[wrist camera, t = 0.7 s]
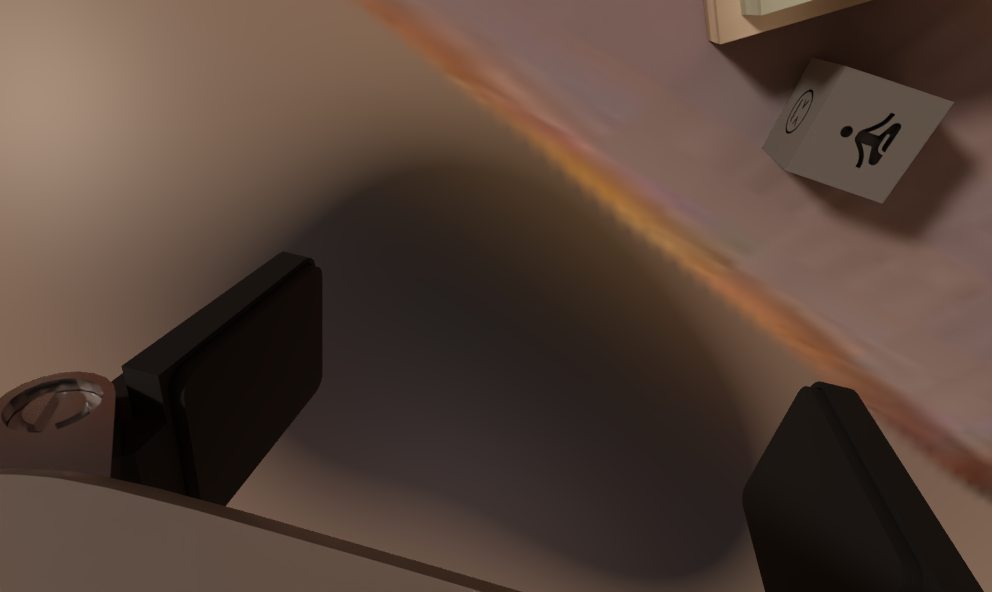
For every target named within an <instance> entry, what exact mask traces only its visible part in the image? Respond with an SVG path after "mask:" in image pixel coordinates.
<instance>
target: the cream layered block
mask: <svg viewBox="0 0 992 592" xmlns="http://www.w3.org/2000/svg"><path fill="white" fill-rule="evenodd" d="M703 1H704V10H705V19H706V28H707V36H708V40H709V41H712V42H715V43H718V44H723V43H727V42H730V41H734V40H737V39H741V38H744V37H748V36H751V35H755V34H758V33H761V32H765V31H768V30H772V29H775V28H779V27H782V26H786V25H789V24H793V23H796V22H799V21H803V20H806V19H810V18H813V17H817V16H820V15H824V14H827V13H831V12H834V11H837V10H841V9H844V8H848V7H851V6H855V5H858V4H862V3H865V2H869V1H872V0H703Z"/></svg>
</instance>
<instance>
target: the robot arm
mask: <svg viewBox="0 0 992 592" xmlns="http://www.w3.org/2000/svg"><path fill="white" fill-rule="evenodd" d="M122 370H123V374H121V375H120V376H118V377H117V378H116V379H114V380H113V381H112V382H110V381H109V380H108V379H107V378H106V377H103V376H101V375H98V374H95V373H88V372H64V373H57V374H52V375H48V376H43V377H40V378H37V379H34V380H32V381H29V382H26V383H24V384H21V385H20V386H18V387H16V388H14V389H12V390H11V391H9V392H7V393H6V394H4V395H3V396H2V397H1V398H0V592H522V591H518V590H514V589H512V588H508V587H505V586H501V585H497V584H494V583H491V582H487V581H484V580H481V579H477V578H474V577H470V576H467V575H464V574H460V573H456V572H453V571H450V570H446V569H443V568H440V567H436V566H433V565H429V564H426V563H422V562H419V561H416V560H412V559H409V558H405V557H402V556H398V555H395V554H391V553H388V552H384V551H380V550H377V549H374V548H370V547H367V546H363V545H360V544H356V543H353V542H350V541H346V540H343V539H339V538H336V537H332V536H329V535H325V534H321V533H318V532H315V531H311V530H307V529H304V528H301V527H297V526H294V525H290V524H287V523H283V522H280V521H276V520H273V519H269V518H266V517H262V516H259V515H255V514H252V513H248V512H244V511H241V510H237V509H233V508H229V507H226V505H227V503H228V502H229V501H230V500H231V499H232V497H233V496H234V495H235V494H236V492H237V491H238V490H239V489H240V487H241V486H242V485H243V483H244V482H245V481H246V480H247V478H248V477H249V476H250V475H251V473H252V472H253V471H254V470H255V468H256V467H257V466H258V464H259V463H260V462H261V461H262V459H263V458H264V457H265V456H266V454H267V453H268V452H269V451H270V449H271V448H272V447H273V446H274V444H275V443H276V442H277V441H278V439H279V438H280V437H281V435H282V434H283V433H284V432H285V430H286V429H287V428H288V427H289V425H290V424H291V423H292V422H293V420H294V419H295V418H296V416H297V415H298V414H299V413H300V411H301V410H302V409H303V408H304V406H305V405H306V404H307V402H308V401H309V400H310V399H311V398H312V396H313V395H314V394H315V392H316V391H317V389H318V387H319V385H320V382H321V379H322V271H321V269H320V268H319V267H315V263H314V260H313V259H311V258H308V257H304V256H300V255H296V254H292V253H288V252H281V253H279V254H278V255H276V256H275V257H274V258H272V259H271V260H269V261H268V262H267V263H265V264H264V265H262V266H261V267H260V268H258V269H257V270H256V271H254V272H253V273H251V274H250V275H248V276H247V277H246V278H244V279H243V280H241V281H240V282H239V283H237V284H236V285H234V286H233V287H232V288H230V289H229V290H228V291H226V292H225V293H223V294H222V295H220V296H219V297H218V298H216V299H215V300H213V301H212V302H211V303H209V304H208V305H206V306H205V307H204V308H202V309H201V310H199V311H198V312H197V313H195V314H194V315H192V316H191V317H190V318H188V319H187V320H185V321H184V322H183V323H181V324H180V325H178V326H177V327H176V328H174V329H173V330H171V331H170V332H169V333H167V334H166V335H164V336H163V337H162V338H160V339H159V340H157V341H156V342H155V343H153V344H152V345H151V346H149V347H148V348H146V349H145V350H143V351H142V352H141V353H139V354H138V355H136V356H135V357H134V358H132V359H131V360H129V361H128V362H127V363H125V364H124V365H122ZM742 500H743V501H742V503H743V508H744V512H745V516H746V520H747V524H748V527H749V531H750V534H751V539H752V543H753V547H754V550H755V554H756V558H757V562H758V566H759V570H760V574H761V577H762V581H763V585H764V589H765V592H984V591H983V590H982V588H981V587H980V585H979V583H978V582H977V580H976V579H975V577H974V576H973V574H972V572H971V571H970V569H969V568H968V566H967V565H966V563H965V561H964V560H963V559H962V557H961V555H960V554H959V552H958V551H957V549H956V547H955V546H954V544H953V543H952V541H951V540H950V538H949V536H948V535H947V534H946V532H945V530H944V529H943V527H942V526H941V524H940V522H939V521H938V519H937V518H936V516H935V515H934V513H933V511H932V510H931V508H930V507H929V505H928V504H927V502H926V500H925V499H924V497H923V496H922V494H921V493H920V491H919V489H918V488H917V486H916V485H915V483H914V482H913V480H912V479H911V477H910V475H909V474H908V472H907V471H906V469H905V467H904V466H903V465H902V463H901V461H900V460H899V458H898V457H897V455H896V453H895V452H894V450H893V449H892V447H891V446H890V444H889V443H888V441H887V439H886V438H885V436H884V435H883V433H882V431H881V430H880V428H879V427H878V425H877V424H876V422H875V420H874V419H873V417H872V416H871V414H870V413H869V411H868V410H867V408H866V406H865V405H864V403H863V402H862V400H861V399H860V397H859V395H858V394H857V393H856V392H855V391H854V390H852V389H849V388H845V387H841V386H837V385H833V384H828V383H824V382H820V381H819V382H815V383H814V384H813V385H812V386H811V387H807V386H805V387H803V388H802V389H800V391H799V392H798V394H797V396H796V397H795V399H794V401H793V403H792V405H791V406H790V408H789V410H788V411H787V413H786V415H785V417H784V418H783V420H782V422H781V424H780V426H779V427H778V429H777V431H776V432H775V434H774V436H773V438H772V439H771V441H770V443H769V445H768V446H767V448H766V450H765V452H764V453H763V455H762V457H761V459H760V460H759V462H758V464H757V466H756V467H755V469H754V471H753V473H752V475H751V476H750V478H749V480H748V481H747V483H746V485H745V487H744V490H743V496H742Z"/></svg>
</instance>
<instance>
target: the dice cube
mask: <svg viewBox="0 0 992 592" xmlns="http://www.w3.org/2000/svg"><path fill="white" fill-rule="evenodd" d="M953 103H954V102H953V101H950V100H947V99H944V98H941V97H938V96H935V95H932V94H929V93H926V92H923V91H920V90H917V89H914V88H911V87H908V86H905V85H902V84H899V83H896V82H893V81H890V80H887V79H884V78H881V77H878V76H875V75H872V74H869V73H866V72H863V71H860V70H857V69H854V68H851V67H848V66H844V65H840V64H836V63H832V62H828V61H824V60H820V59H816V58H811V59H810V61H809V63H808V65H807V67H806V69H805V70H804V72H803V74H802V76H801V78H800V79H799V81H798V83H797V85H796V87H795V89H794V90H793V92H792V94H791V96H790V98H789V99H788V101H787V103H786V105H785V107H784V109H783V110H782V112H781V114H780V116H779V118H778V120H777V121H776V123H775V125H774V127H773V129H772V130H771V132H770V134H769V136H768V138H767V140H766V141H765V143H764V145H763V147H762V149H764V150H765V151H766V152H767V153H768V154H769V155H770V156H771V157H772V158H773V159H774V160H775V161H776V162H777V163H778V164H779V165H780V166H781V167H782V168H783V169H784V170H785V171H788V172H791V173H794V174H797V175H800V176H803V177H806V178H809V179H812V180H815V181H818V182H820V183H823V184H826V185H829V186H832V187H835V188H838V189H841V190H844V191H847V192H850V193H853V194H856V195H858V196H861V197H864V198H867V199H870V200H873V201H876V202H879V203H882V204H883V202H884V201H885V199H886V198H887V196H888V195H889V194H890V192H891V191H892V189H893V188H894V187H895V185H896V184H897V182H898V181H899V179H900V178H901V177H902V175H903V174H904V172H905V171H906V170H907V168H908V167H909V165H910V164H911V163H912V161H913V160H914V158H915V157H916V155H917V154H918V153H919V151H920V150H921V148H922V147H923V146H924V144H925V143H926V141H927V140H928V139H929V137H930V136H931V134H932V133H933V131H934V130H935V129H936V127H937V126H938V124H939V123H940V122H941V120H942V119H943V117H944V116H945V115H946V113H947V112H948V110H949V109H950V107H951V106H952V105H953Z"/></svg>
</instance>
